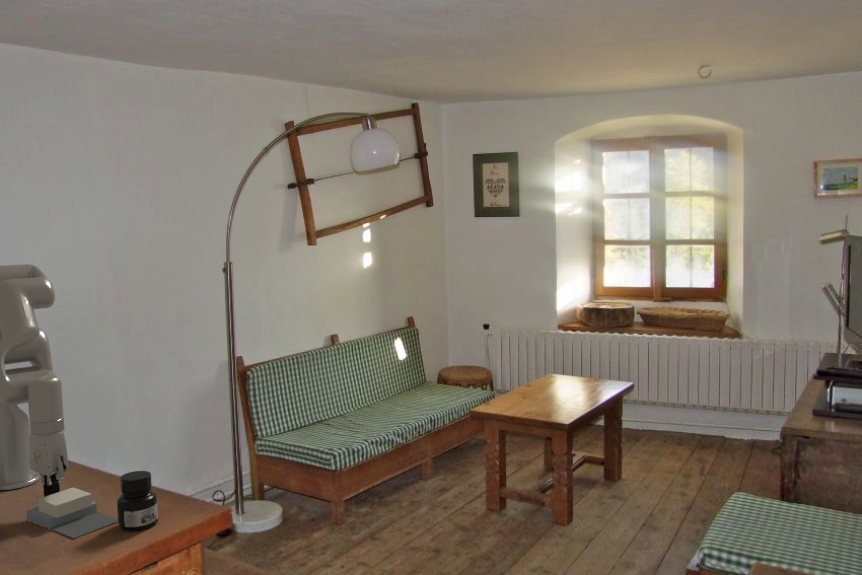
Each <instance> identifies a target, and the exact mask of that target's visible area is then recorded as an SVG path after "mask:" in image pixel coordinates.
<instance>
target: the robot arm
mask: <svg viewBox="0 0 862 575" xmlns="http://www.w3.org/2000/svg"><path fill="white" fill-rule="evenodd" d="M53 286H54V285H53V283H52V282H51V279H49V277H48V276H47V275H46V274H45V273H44V271H42V270H41V269H40V268H39V266H36V265H35V264H30V263H29V264H28V263H27V264H9V265H6V264H5V265H0V491H6V490H7V491H9V490H15V489H21V488H25V487H28V486H31V485H33V484H35V483H36V482H38V481H39V480H40V479H41V483H42V484H43V485H42V486H43V487H42V488H43V497H45V496H48V495H52V494H55V493H58V492H61V490H60V482H61V480H62V479H65V478H66V476H65V475H66V474H65V472H67V470H68V468H69V458H68V449H67V441H66V437H65V433H64V432H65V431H66V430H65V417H64V405H63V404H64V403H63V390H62V389H63V386H62V380H61V378H60V377H59V376H58V375H57V374H56V373H55V372H54V367H53V360H52V359H53V358H52V354H51V346H50V343H49V339H48V335H47V334H46V332H45V330H43V329H42V328H40V327H39V324H38V321H37V318H36V313H35V310H40V309H47V308H51V307H52V306H53V305H54V303H55V300H56V293H55V288H54V287H53ZM27 362H29V363H30V364H31V366H29V365H28V366H24V367H17V368H16V367H15V368H8V369H6V367H5V365H15V364H20V363H27ZM22 404H27V405H28V414H27V412H25V411H24V410H23V409H21V408H20V407H19V406H18V405H22ZM40 477H41V478H40Z"/></svg>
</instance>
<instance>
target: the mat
mask: <svg viewBox="0 0 862 575" xmlns="http://www.w3.org/2000/svg"><path fill="white" fill-rule="evenodd" d="M117 522H118V517H117V518H116V517H114V516H111V515H108V514H105V513H103V512H100V511H97V512H95V513H92V514H90V515H87V516H84V517H81V518H79V519H76V520H73V521H70V522H67V523H65V524H62V525H59V526H56V527H54V528H51V529H50V531H52V530H53V531H52V532H54V533H57V532H58V534H60V535H63V536H65V537H67V538H69V539H72V540H76V539H78V537H79V538H81V537H83V535H84V536H86V535H89V534H91V533H90V532H92V531H94V532H96V531H95V530H97V531H99V530H101V528H102V529H104V528H103V527H105V528H107V527H110V526H113V525H115V524H118V523H117ZM114 523H115V524H114ZM112 524H113V525H112ZM109 525H110V526H109ZM106 526H107V527H106ZM98 529H99V530H98ZM88 533H89V534H88ZM92 533H93V532H92ZM85 534H86V535H85ZM80 536H81V537H80Z"/></svg>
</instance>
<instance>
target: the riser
mask: <svg viewBox="0 0 862 575" xmlns="http://www.w3.org/2000/svg"><path fill="white" fill-rule="evenodd" d="M97 506H98V505H97V502H95V501H93V500H92V506H90V507H87V508H84V509H81V510H78V511H75V512H73V513H70V514H67V515H64V516H61V517H58V518H55V517H53V516H50V515H48V514H45V513H43V512H40V511H39V508H38V506H37V507H36V506H35V507H33V508H29V509H26V520H27V521H28V520H30V521H32V522H35V523H37V524H39V525H38V526H40V525H41V526H40V527H42V526H44V527H43V528H45V527H46V529H47V528H48V529H47V530H51V528H54V527H56V526H59V525H62V524H65V523H67V522H70V521H73V520H76V519H79V518H81V517H84V516H87V515H90V514H92V513H95V512H98V511H97V510H98V509H97ZM30 521H29V522H30ZM32 522H31V523H32ZM35 523H34V524H35ZM37 524H36V525H37Z"/></svg>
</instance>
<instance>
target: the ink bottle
mask: <svg viewBox="0 0 862 575" xmlns="http://www.w3.org/2000/svg"><path fill="white" fill-rule="evenodd" d="M119 479H120V480H119V481H120V492H121V495H120V496H119V497H118V498H117V499H116V500H117V501H116V508H117V509H116V510H117V512H116V513H117V519H118V523H117V526H118V528H119V529H120V530H122V531H127V532H137V531H143V530H146V529H149V528H151V527H153V526H155V525H157V524H158V522H159V508H158V507H159V506H158V497H157V493H156V492H154V491H152V485H153V484H152V483H153V482H152V473H151V472H150V471H147V470H136V471H135V470H134V471H128V472H126V473H123V475H120V477H119Z"/></svg>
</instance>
